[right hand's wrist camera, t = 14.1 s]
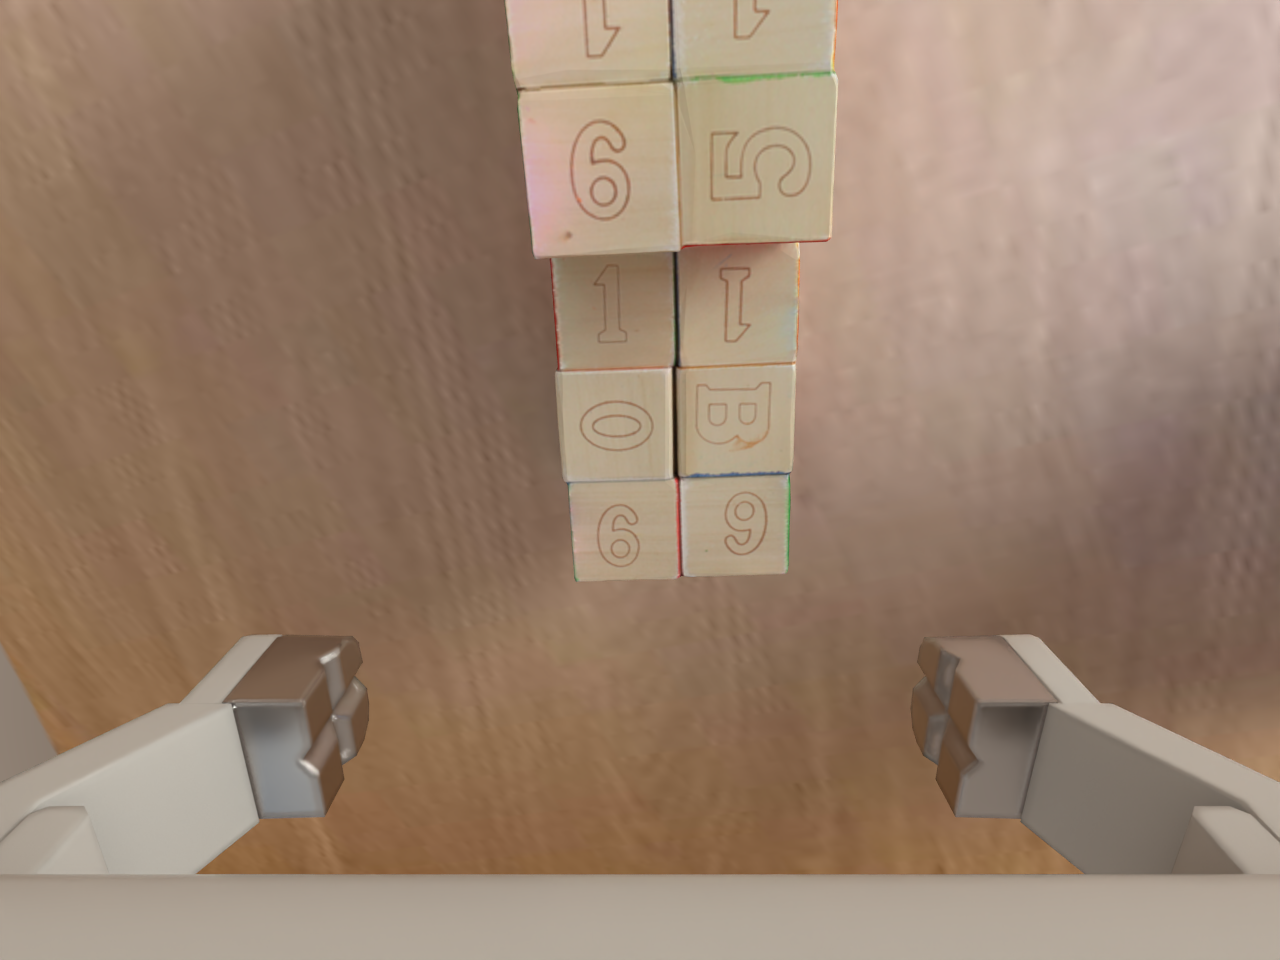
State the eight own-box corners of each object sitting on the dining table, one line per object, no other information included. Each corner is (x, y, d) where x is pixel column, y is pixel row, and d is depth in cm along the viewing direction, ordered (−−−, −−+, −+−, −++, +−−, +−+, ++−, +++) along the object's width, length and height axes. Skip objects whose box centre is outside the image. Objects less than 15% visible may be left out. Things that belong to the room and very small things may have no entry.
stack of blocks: (744, 469, 29) (812, 641, 18) (588, 473, 29) (554, 647, 18) (758, -207, 22) (895, -684, 10) (548, -199, 22) (444, -662, 10)
